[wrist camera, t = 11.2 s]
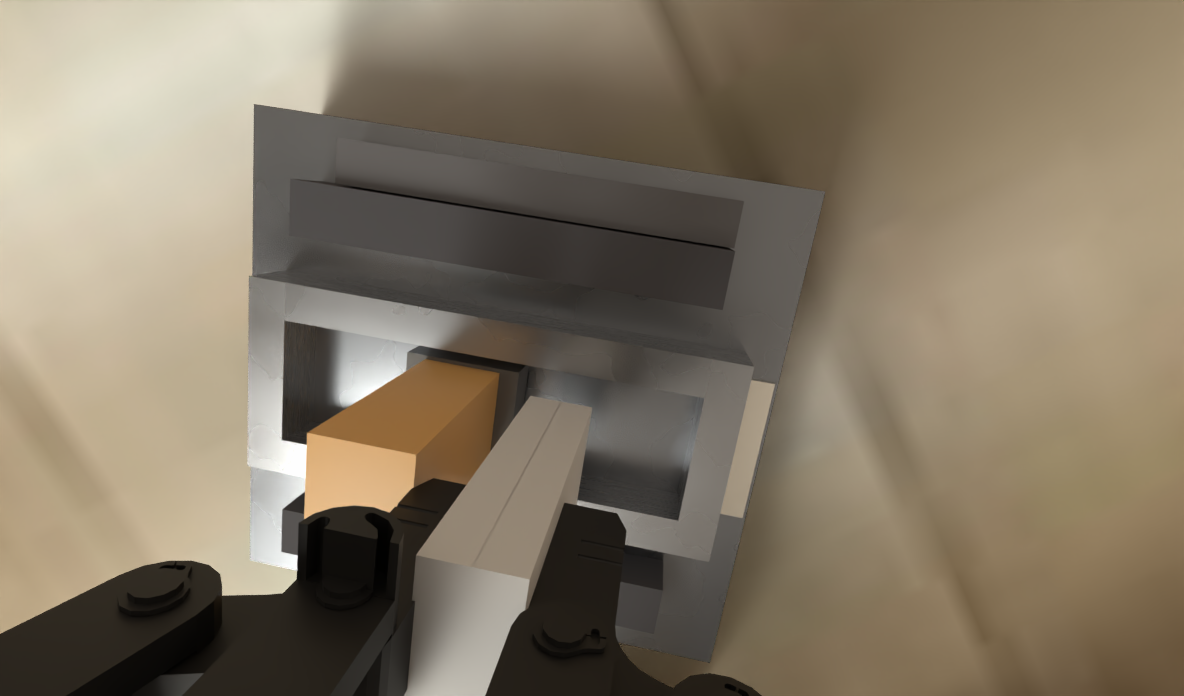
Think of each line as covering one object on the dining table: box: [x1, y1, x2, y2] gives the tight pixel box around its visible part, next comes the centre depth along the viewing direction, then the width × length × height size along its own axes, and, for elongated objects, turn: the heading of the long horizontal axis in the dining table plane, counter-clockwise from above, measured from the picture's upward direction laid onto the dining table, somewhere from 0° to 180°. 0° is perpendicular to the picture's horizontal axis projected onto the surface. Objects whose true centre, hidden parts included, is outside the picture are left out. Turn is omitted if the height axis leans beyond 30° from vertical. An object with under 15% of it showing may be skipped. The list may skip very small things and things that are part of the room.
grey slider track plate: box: [281, 138, 744, 634], centre depth 16 cm, size 11×12×1 cm
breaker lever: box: [304, 345, 529, 519], centre depth 14 cm, size 3×3×6 cm
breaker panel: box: [248, 104, 825, 663], centre depth 17 cm, size 15×14×4 cm
